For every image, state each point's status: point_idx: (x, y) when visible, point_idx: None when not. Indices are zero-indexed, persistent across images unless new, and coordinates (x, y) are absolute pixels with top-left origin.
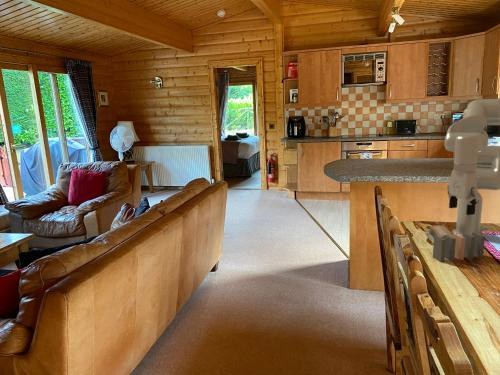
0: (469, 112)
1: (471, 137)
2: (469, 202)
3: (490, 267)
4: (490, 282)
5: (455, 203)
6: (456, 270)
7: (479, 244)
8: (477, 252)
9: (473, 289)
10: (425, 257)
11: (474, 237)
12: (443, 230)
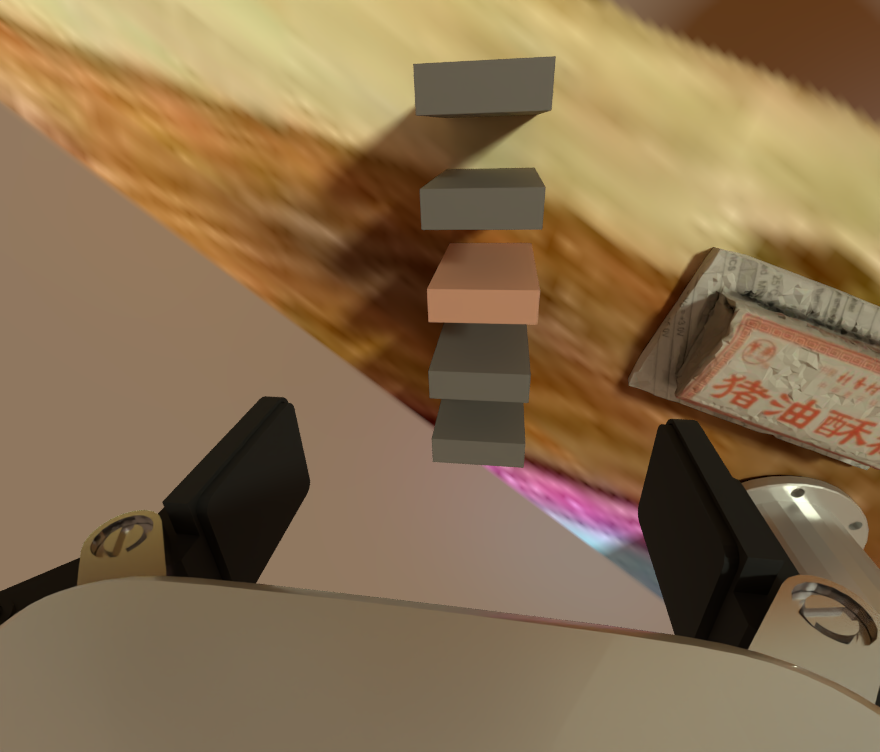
0: None
1: None
2: (124, 560)
3: (329, 326)
4: (150, 191)
5: (661, 544)
6: (302, 104)
7: (450, 404)
8: None
9: (43, 19)
10: (557, 11)
11: (430, 390)
12: (840, 416)
